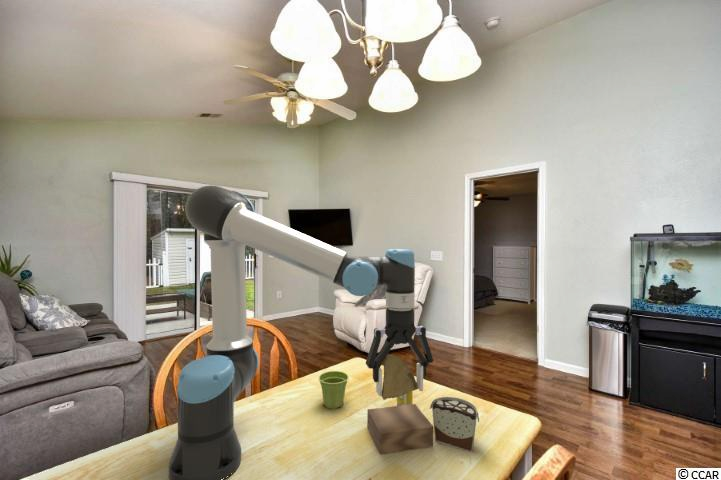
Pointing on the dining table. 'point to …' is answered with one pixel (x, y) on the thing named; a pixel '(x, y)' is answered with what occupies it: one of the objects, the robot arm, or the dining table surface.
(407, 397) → the supplement bottle
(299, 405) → the dining table surface
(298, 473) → the dining table surface
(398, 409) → the walnut block
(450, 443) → the food container
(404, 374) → the rock
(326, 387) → the plant pot
